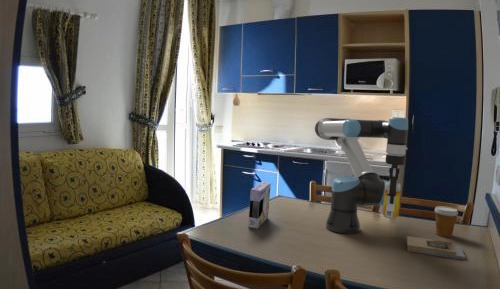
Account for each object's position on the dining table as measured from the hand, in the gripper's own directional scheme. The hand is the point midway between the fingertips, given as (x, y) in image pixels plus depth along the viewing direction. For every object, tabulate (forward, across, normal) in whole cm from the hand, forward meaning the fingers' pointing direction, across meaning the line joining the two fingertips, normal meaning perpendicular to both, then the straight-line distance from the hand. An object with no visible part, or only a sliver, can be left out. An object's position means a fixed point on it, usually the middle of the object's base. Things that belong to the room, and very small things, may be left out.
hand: (390, 209), depth 164 cm
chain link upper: (+13, -5, -16) cm, 21 cm away
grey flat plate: (+13, -5, -20) cm, 24 cm away
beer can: (+4, 0, 0) cm, 4 cm away
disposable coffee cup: (+13, +19, -23) cm, 33 cm away
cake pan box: (+14, -5, +56) cm, 58 cm away
